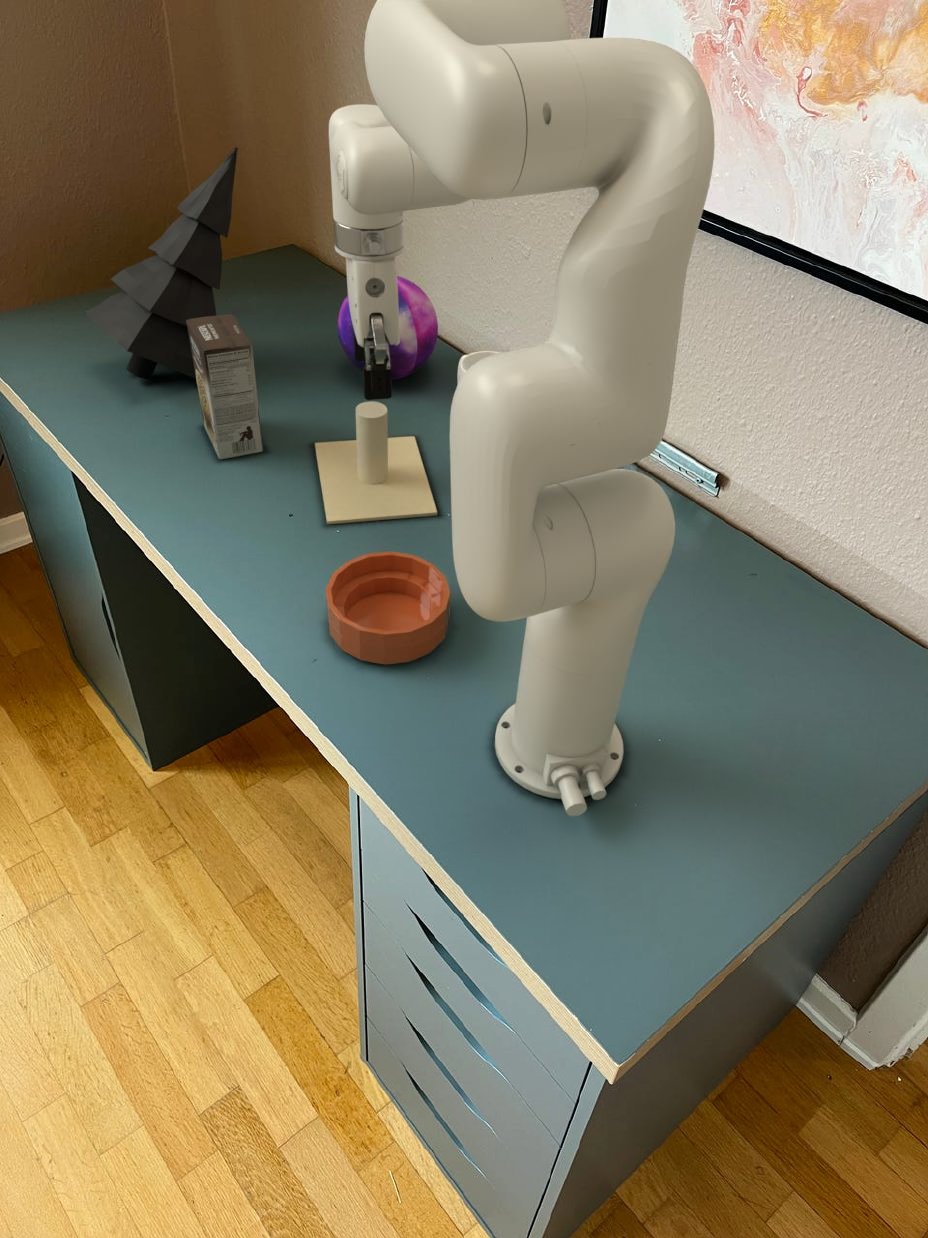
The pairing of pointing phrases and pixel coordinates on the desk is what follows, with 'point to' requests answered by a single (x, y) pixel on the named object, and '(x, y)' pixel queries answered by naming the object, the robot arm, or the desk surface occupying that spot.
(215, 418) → the coffee box
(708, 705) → the desk surface
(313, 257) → the desk surface
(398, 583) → the bowl
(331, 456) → the mat
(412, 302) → the decorative orb
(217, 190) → the decorative tree
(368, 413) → the cream cylinder
